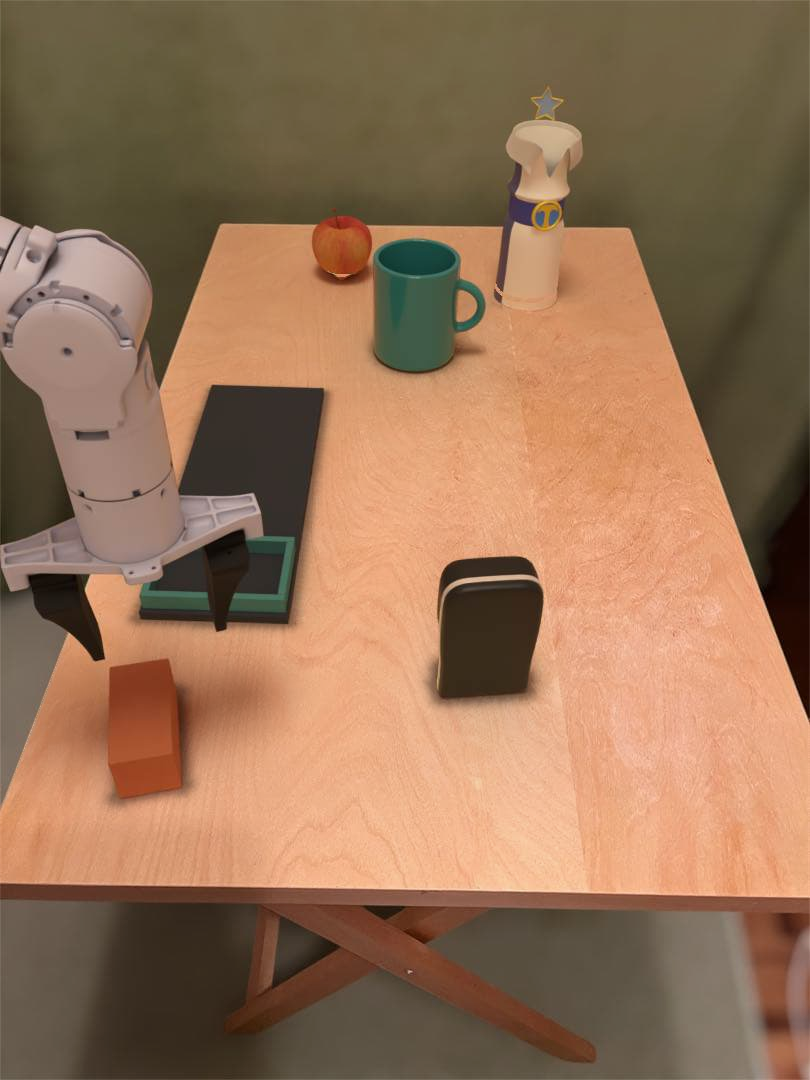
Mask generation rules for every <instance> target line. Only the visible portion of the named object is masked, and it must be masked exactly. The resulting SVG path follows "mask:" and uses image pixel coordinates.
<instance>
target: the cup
mask: <svg viewBox="0 0 810 1080" xmlns="http://www.w3.org/2000/svg"><path fill="white" fill-rule="evenodd" d="M372 256H373V257H372V319H373V320H372V337H373V338H372V346H373V351H374V354H375V356H376V357H377V358H378V360H379V361H380V362H382V363H383V364H384V365H386V366H388V367H390V368H393V369H396V370H399V371H404V372H412V373H413V372H415V373H416V372H427V371H431V370H435V369H438V368H441V367H442V366H444V365H446V364H447V363H448V362H449V361H450V360H451V359H452V358H453V356H454V354H455V350H456V340H457V339H456V337H457V334H459V333H465V332H468V331H470V330H472V329H474V328H475V327H476V326H478V325H479V324H480V323H481V321H482V320H483V318H484V317H485V313H486V309H487V308H486V307H487V303H486V299H485V295H484V293H483V291H482V290H481V289H480V288H479V286H477V285H476V284H474V283H473V282H471V281H469V280H466V279H462V278H461V265H462V264H461V263H462V258H461V255H460V254H459V252H458V251H457V249H455V248H454V247H452V246H450V245H448V244H446V243H445V242H442V241H438V240H433V239H429V238H428V239H427V238H419V237H417V238H413V237H412V238H402V239H396V240H393V241H392V240H391V241H389V242H386V243H384V244H382V245H381V246H379V247H378V248H376V250H375V252H374V253H373V255H372ZM460 291H464V292H466V293H468V294H470V295H471V296H472V297H473V299H474V300H475V302H476V303H475V304H476V310H475V312H474V314H473V315H472V316H471V317H469V318H468V319H465V320H463V321H458V311H459V310H458V309H459V294H460Z"/></svg>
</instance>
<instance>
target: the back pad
mask: <svg viewBox="0 0 810 1080" xmlns="http://www.w3.org/2000/svg"><path fill="white" fill-rule="evenodd" d="M324 396H325V389H324V387H303V386H301V387H300V386H298V387H297V386H268V385H265V386H264V385H238V384H235V385H234V384H211V386H210V389H209V392H208V396H207V398H206V401H205V405H204V408H203V411H202V414H201V417H200V420H199V423H198V425H197V426H198V427H197V430H196V433H195V436H194V439H193V442H192V445H191V448H190V451H189V455H188V458H187V461H186V463H185V467H184V471H183V473H182V476H181V479H180V483H179V485H178V493H179V496H238V495H245V494H251V493H254V495H255V498H256V500H257V503H258V506H259V509H260V511H261V517H262V526H263V535H264V536H262V537H258V538H254V539H246V538H245V539H246V544H247V547H248V550H249V553H250V567H249V571H248V572H247V574H246V575H245V576H244V577H243V579H242V580H241V582H240V583H239V585H238V587H237V589H236V591H235V593H234V596H233V598H232V601H231V605H230V608H229V613H228V618H227V623H252V624H253V623H254V624H256V623H257V624H282V625H283V624H287V625H288V624H289V622H290V614H291V607H292V601H293V595H294V589H295V583H296V582H295V581H296V575H297V570H298V563H299V556H300V550H301V543H302V538H303V532H304V524H305V518H306V512H307V506H308V500H309V492H310V486H311V480H312V475H313V473H312V472H313V466H314V461H315V460H314V459H315V454H316V448H317V441H318V435H319V427H320V422H321V416H322V410H323V409H322V408H323V403H324ZM162 569H163V576H162V577H161V578H160V579H158V580H156V581H152V582H147V583H143V584H142V586H141V589H140V592H139V600H140V607H139V611H138V615H139V618H140V620H157V621H159V620H160V621H187V622H189V621H194V622H213V618H212V615H211V611H210V606H209V601H208V595H207V583H206V570H205V564H204V559H203V554H202V549H201V547H200V548H198V549H196V550H194V551H192V552H190V553H188V554H186V555H184V556H182V557H180V558H178V559H176V560H174V561H172V562H170V563H168V564H166V565H164V566H163V567H162Z"/></svg>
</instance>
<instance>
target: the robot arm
mask: <svg viewBox="0 0 810 1080" xmlns="http://www.w3.org/2000/svg"><path fill="white" fill-rule="evenodd" d="M153 297H154V296H153V286H152V282H151V278H150V277H149V274H148V271H147V270H146V269H145V267H144V265H143V264H142V263H141V262H140V260H139V259H138V258H137V256H135V254H133V253H132V252H131V251H130V250H129V249H127V248H126V247H125V246H124V245H122V244H120V243H118V242H117V241H115V240H113V239H111V238H110V237H109V236H108V235H107V234H106V233H104V232H102V231H99V230H95V229H90V228H89V229H88V228H87V229H86V228H78V229H77V228H76V229H69V230H65V231H62V232H58V233H57V232H56V233H55V232H53V231H51V230H48V229H46V228H44V227H41V226H40V225H38V224H37V225H36V224H35V225H34V226H33V228H30V227H28V226H25V225H22V224H21V223H19V222H16V221H14V220H11V219H9V218H7V217H4V216H1V215H0V352H1V354H2V356H3V359H4V360H5V362H6V364H7V365H8V368H9V369H10V370H11V371H12V372H13V373H14V375H15V376H16V377H17V378H18V379H19V380H20V381H21V382H22V383H23V384H24V385H26V386H27V387H28V388H29V389H32V391H34V392H35V393H36V394H37V395H38V396H39V397H40V399H41V402H42V407H43V411H44V415H45V418H46V422H47V425H48V429H49V432H50V435H51V439H52V442H53V445H54V449H55V452H56V456H57V460H58V462H59V465H60V469H61V472H62V476H63V479H64V483H65V485H66V490H67V492H68V496H69V500H70V501H71V506H72V510H73V513H74V517H72V518H70V519H67V520H65V521H63V522H60V523H58V524H55V525H54V526H51V527H49V528H46V529H45V530H41V531H40V532H37V533H36V534H33V535H30V536H28V537H26V538H22V539H19V540H16V541H13V542H7V543H4V544H1V545H0V568H1V572H2V574H3V576H4V579H5V581H6V584H7V586H8V589H9V591H10V592H16V591H20V590H26V589H28V588H29V587H30V588H31V592H32V597H33V605H34V608H35V610H36V612H37V613H38V615H39V616H40V617H41V618H42V619H44V620H46V621H49V622H52V623H53V624H55V625H56V626H59V627H60V628H62V629H63V630H64V631H66V632H67V633H69V634H70V635H71V636H72V637H74V638H75V640H77V641H78V643H79V644H80V645H81V646H82V647H83V648H84V649H85V650H86V651H87V653H88V654H89V656H90V657H91V659H92V661H93V662H95V663H96V662H101V661H104V660H106V656H105V650H104V642H103V636H102V633H101V629H100V625H99V621H98V620H97V617H96V615H95V612H94V610H93V608H92V605H91V603H90V600H89V598H88V595H87V593H86V592H87V591H86V589H85V586H84V582H83V578H82V575H112V576H113V575H115V576H117V575H118V576H119V575H120V576H123V579H124V582H125V584H126V585H127V586H138V585H143V583H147V582H152V581H156V580H158V579H160V578H161V577H162V576H163V569H162V567H163V566H164V565H166V564H168V563H170V562H172V561H174V560H176V559H178V558H180V557H182V556H184V555H186V554H188V553H190V552H192V551H194V550H196V549H198V548H200V547H201V549H202V554H203V559H204V564H205V570H206V583H207V595H208V601H209V606H210V611H211V615H212V618H213V621H212V622H213V626H214V628H215V629H214V630H215V632H216V633H219V632H223V631H226V630H227V629H228V622H227V618H228V613H229V608H230V605H231V601H232V598H233V596H234V593H235V591H236V589H237V587H238V585H239V583H240V582H241V580H242V579H243V577H244V576H245V575H246V574H247V572H248V571H249V567H250V553H249V550H248V547H247V544H246V539H254V538H258V537H262V536H264V535H263V526H262V517H261V511H260V509H259V506H258V503H257V500H256V498H255V495H254V493H251V494H245V495H238V496H179V493H178V489H179V486H178V483H177V478H176V472H175V467H174V461H173V455H172V450H171V446H170V440H169V434H168V429H167V424H166V419H165V414H164V409H163V403H162V399H161V393H160V388H159V385H158V383H157V381H156V377H155V372H154V367H153V361H152V356H151V351H150V345H149V342H148V340H147V339H145V338H144V335H145V333H146V329H147V325H148V323H149V320H150V317H151V314H152V307H153ZM245 538H246V539H245Z"/></svg>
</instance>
